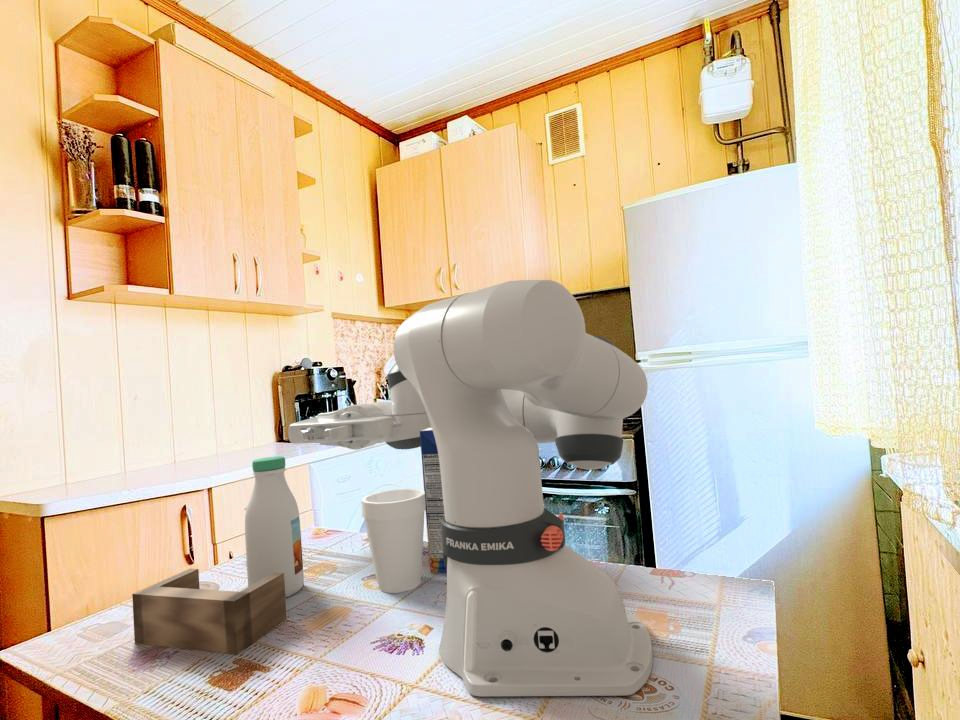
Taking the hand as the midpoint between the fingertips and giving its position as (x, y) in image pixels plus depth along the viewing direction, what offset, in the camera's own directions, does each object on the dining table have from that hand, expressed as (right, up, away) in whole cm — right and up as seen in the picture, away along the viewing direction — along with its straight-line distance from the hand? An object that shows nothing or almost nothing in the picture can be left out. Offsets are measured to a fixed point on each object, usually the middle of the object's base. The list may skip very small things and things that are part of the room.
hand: (315, 435), depth 87 cm
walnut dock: (-6, -22, -23) cm, 32 cm away
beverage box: (+26, -20, -5) cm, 33 cm away
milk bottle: (-2, -22, -12) cm, 25 cm away
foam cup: (+17, -20, -13) cm, 29 cm away
